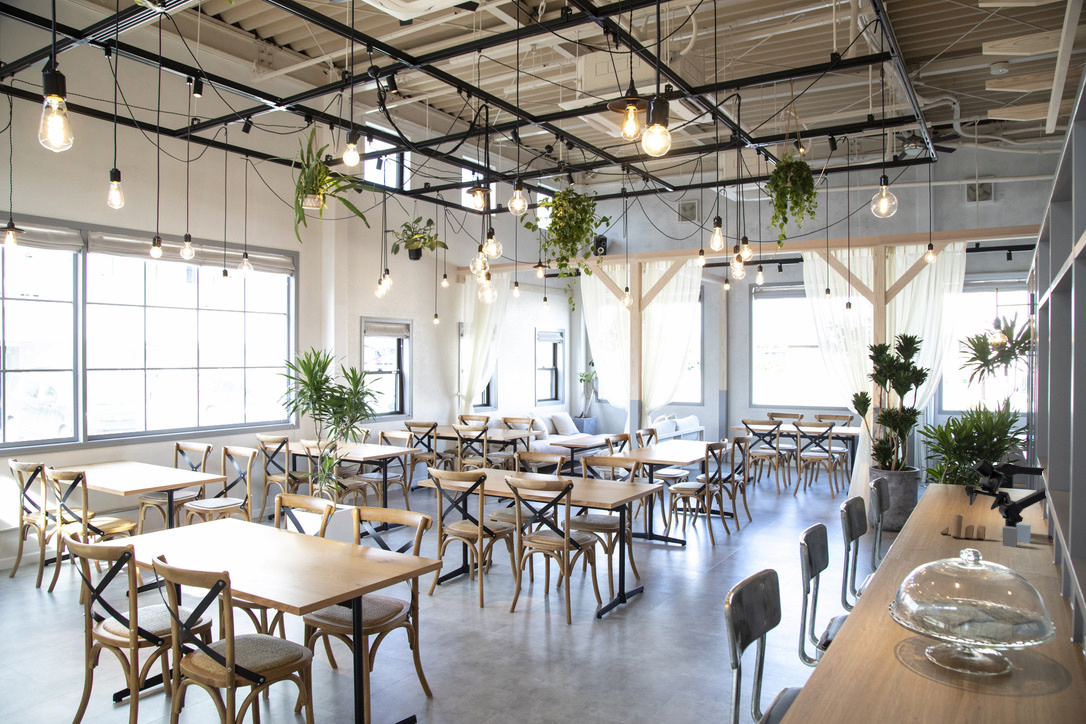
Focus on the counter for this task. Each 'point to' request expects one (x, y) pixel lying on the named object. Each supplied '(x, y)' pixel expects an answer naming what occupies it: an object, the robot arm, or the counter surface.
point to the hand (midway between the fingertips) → (980, 507)
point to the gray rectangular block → (1009, 536)
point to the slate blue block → (1023, 532)
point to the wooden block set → (968, 530)
